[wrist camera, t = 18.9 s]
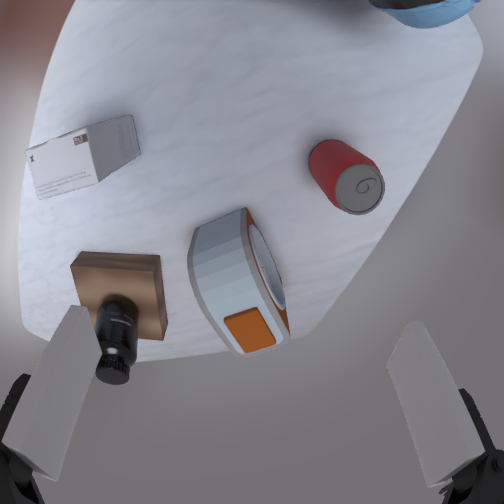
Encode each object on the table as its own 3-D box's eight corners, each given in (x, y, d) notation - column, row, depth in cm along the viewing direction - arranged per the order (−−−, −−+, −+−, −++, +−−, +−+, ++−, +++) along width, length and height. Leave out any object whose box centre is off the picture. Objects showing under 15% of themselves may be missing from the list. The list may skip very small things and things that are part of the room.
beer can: (362, 169, 41) (398, 199, 30) (323, 193, 43) (348, 231, 32) (338, 129, 38) (372, 147, 28) (298, 155, 40) (318, 181, 30)
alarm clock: (286, 285, 50) (297, 346, 38) (238, 302, 52) (236, 365, 40) (248, 205, 44) (249, 254, 32) (194, 229, 45) (177, 283, 33)
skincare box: (92, 166, 40) (36, 205, 27) (83, 127, 37) (20, 151, 24) (144, 153, 39) (99, 187, 26) (135, 111, 36) (83, 126, 23)
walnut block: (82, 249, 47) (70, 265, 42) (160, 253, 47) (152, 271, 43) (98, 314, 54) (90, 332, 49) (168, 321, 54) (163, 340, 50)
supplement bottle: (131, 293, 44) (127, 362, 35) (144, 322, 48) (144, 386, 39) (90, 300, 43) (80, 366, 34) (106, 327, 47) (101, 390, 38)
